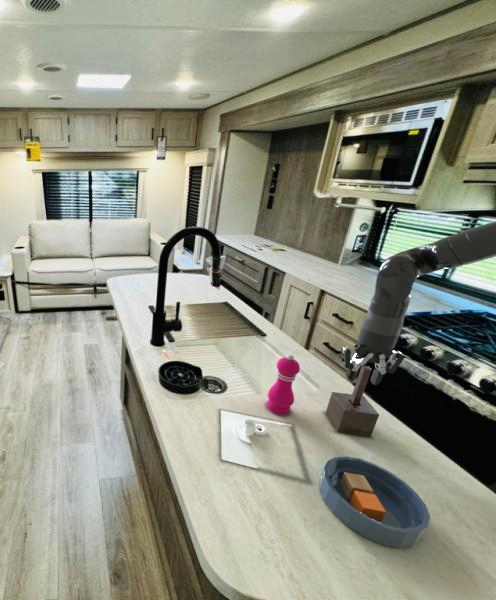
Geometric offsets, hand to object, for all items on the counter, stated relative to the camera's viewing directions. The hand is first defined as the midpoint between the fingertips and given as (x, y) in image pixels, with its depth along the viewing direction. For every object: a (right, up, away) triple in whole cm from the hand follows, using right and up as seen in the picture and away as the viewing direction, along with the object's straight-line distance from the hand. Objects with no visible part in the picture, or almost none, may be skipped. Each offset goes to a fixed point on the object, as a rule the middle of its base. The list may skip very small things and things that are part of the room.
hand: (361, 381), depth 88 cm
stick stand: (0, -14, +6) cm, 15 cm away
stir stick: (0, -14, +6) cm, 15 cm away
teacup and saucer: (-29, -17, 0) cm, 34 cm away
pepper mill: (-16, -12, +13) cm, 24 cm away
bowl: (-14, -24, -18) cm, 33 cm away
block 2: (-16, -24, -20) cm, 35 cm away
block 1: (-15, -22, -15) cm, 31 cm away
